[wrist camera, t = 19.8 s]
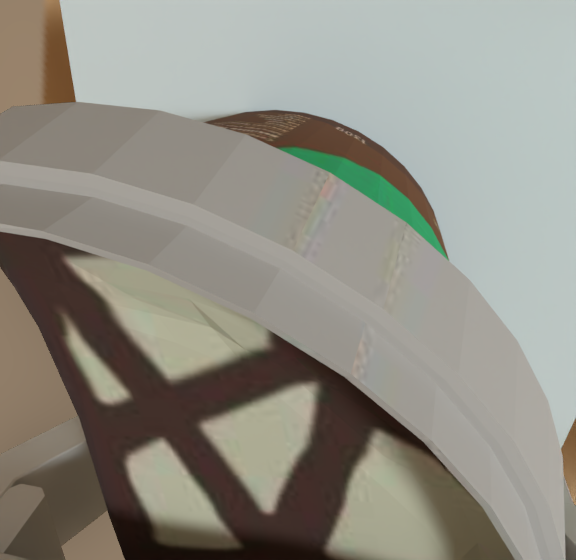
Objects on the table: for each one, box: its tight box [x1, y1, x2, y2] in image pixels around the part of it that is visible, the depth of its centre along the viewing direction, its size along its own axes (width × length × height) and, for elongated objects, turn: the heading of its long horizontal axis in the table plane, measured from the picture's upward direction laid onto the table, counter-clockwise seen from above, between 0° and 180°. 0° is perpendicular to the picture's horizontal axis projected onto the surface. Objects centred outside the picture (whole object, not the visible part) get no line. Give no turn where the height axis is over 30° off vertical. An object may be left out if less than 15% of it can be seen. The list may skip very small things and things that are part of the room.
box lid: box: [60, 0, 576, 448], centre depth 15 cm, size 16×18×1 cm
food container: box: [0, 102, 566, 560], centre depth 10 cm, size 12×6×10 cm, turn 10°
